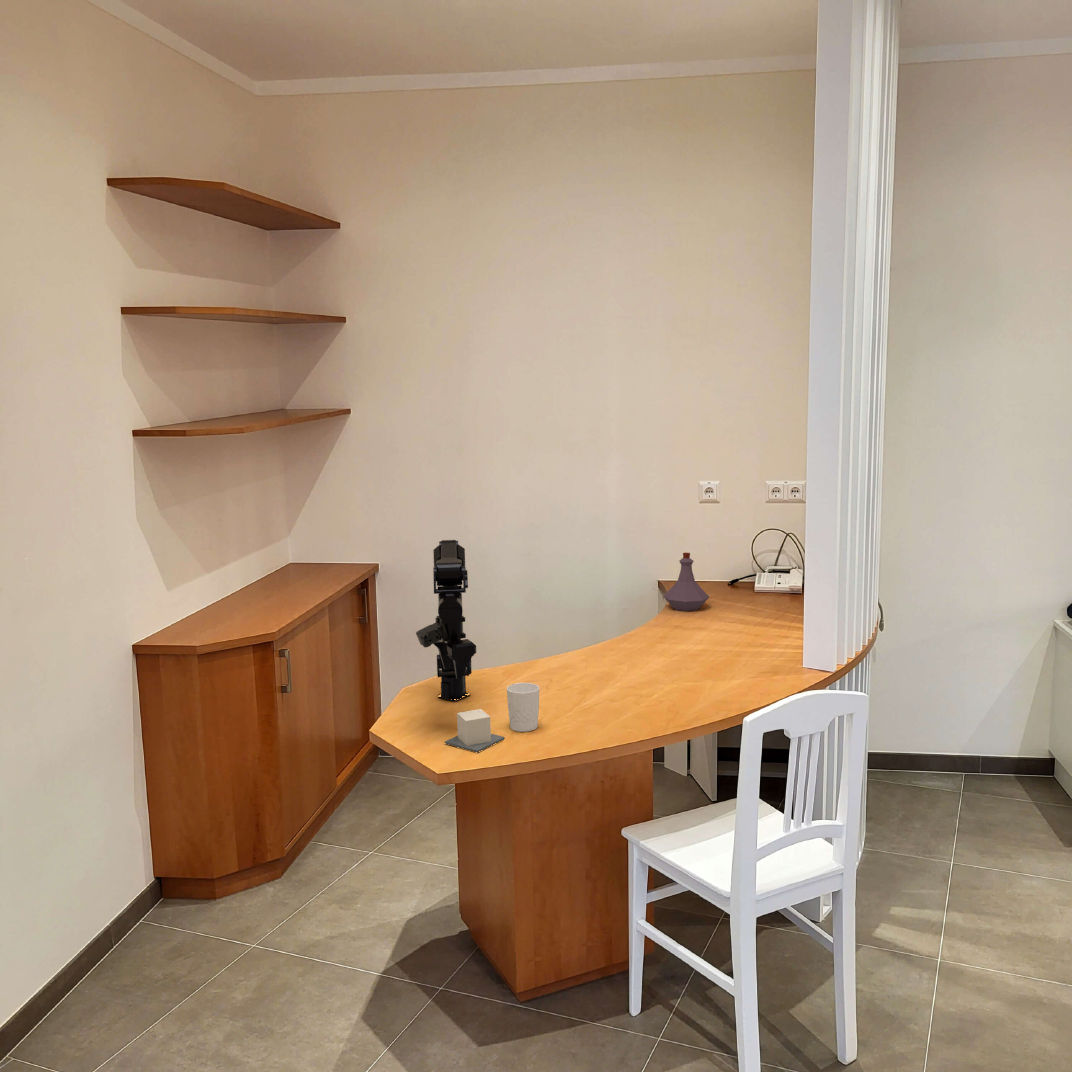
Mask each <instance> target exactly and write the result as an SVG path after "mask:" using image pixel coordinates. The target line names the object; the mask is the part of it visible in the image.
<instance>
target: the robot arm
mask: <svg viewBox="0 0 1072 1072" xmlns="http://www.w3.org/2000/svg"><path fill="white" fill-rule="evenodd" d="M438 542H439V543H438V545H437V546H436V547H435V548H434V549H433V552H432V553H433V569H432V570H433V571H432V572H433V595H434V594H436V595H438V596H437V597H438V601H437V602H438V605H437V614H438V615H436V617H435V622H433V623H432V624H429V625H427V626H425V627H422V628H421V629H419V630H417V631H416V632H415V634H416V637H417V640H418V642H419V644H420V645H421V646H422V647H423V648H426V649H427V648H428V647H431V646H432V645H434V646H435V647H436V648H437V650H438V654H436V672H437V678H440V679H441V680H440V681H441V682H440V694H441V697H442V698H446V699H452V700H454V699H456V700H457V699H460V698H462V696H467V695H465V694H468V693H469V692H468V693H466V692H467V685H466V684H467V683H466V677H469V676H470V675H472V658H473V657H474V656H475V654H477V645H476V644H475V643H474V642H472V641H471V640H470V639H468V638H467V634H466V633H465V632H464V625H463V624H464V623H465V622H466V617H465V616H464V615H463V611H464V610H463V593H465V594H466V592H467V590H466V589H469V578H468V570H467V569H466V568H467V567H466V549H465V548H464V547H463V546H461V545H460V544H459V540H456V539H442V540H441V541H438ZM466 638H467V639H466ZM467 697H468V696H467ZM442 698H441V699H442ZM446 699H445V700H446ZM460 700H461V699H460Z"/></svg>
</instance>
